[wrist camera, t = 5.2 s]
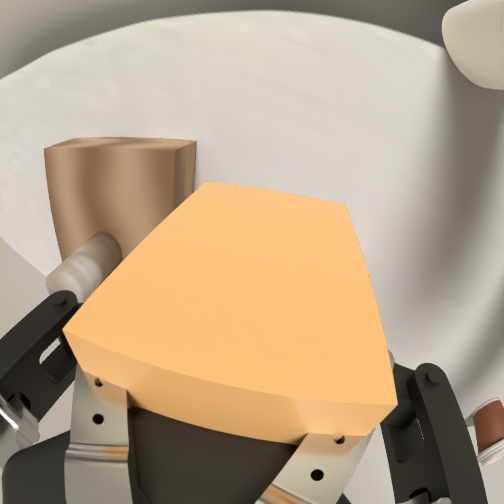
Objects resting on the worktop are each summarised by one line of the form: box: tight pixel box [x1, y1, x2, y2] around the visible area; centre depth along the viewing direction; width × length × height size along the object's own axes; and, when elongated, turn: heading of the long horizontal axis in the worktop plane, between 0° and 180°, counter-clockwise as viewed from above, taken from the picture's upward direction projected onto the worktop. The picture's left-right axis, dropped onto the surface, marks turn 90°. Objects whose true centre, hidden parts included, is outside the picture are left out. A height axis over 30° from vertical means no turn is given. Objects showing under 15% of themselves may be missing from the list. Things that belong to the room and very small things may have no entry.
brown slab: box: [44, 137, 196, 303], centre depth 19 cm, size 12×16×10 cm
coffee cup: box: [472, 397, 504, 466], centre depth 27 cm, size 9×9×12 cm
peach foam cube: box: [62, 181, 398, 446], centre depth 10 cm, size 9×6×9 cm, turn 174°
